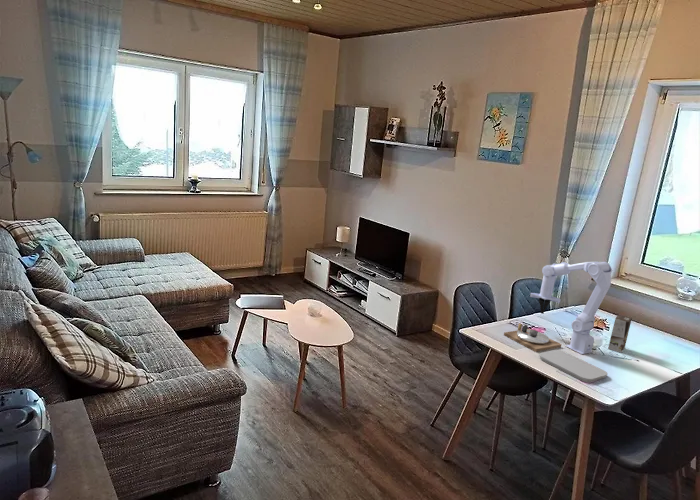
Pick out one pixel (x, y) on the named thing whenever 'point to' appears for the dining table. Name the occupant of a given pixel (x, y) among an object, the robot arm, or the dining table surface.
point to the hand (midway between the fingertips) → (542, 313)
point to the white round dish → (537, 339)
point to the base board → (532, 346)
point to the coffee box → (619, 333)
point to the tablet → (573, 365)
